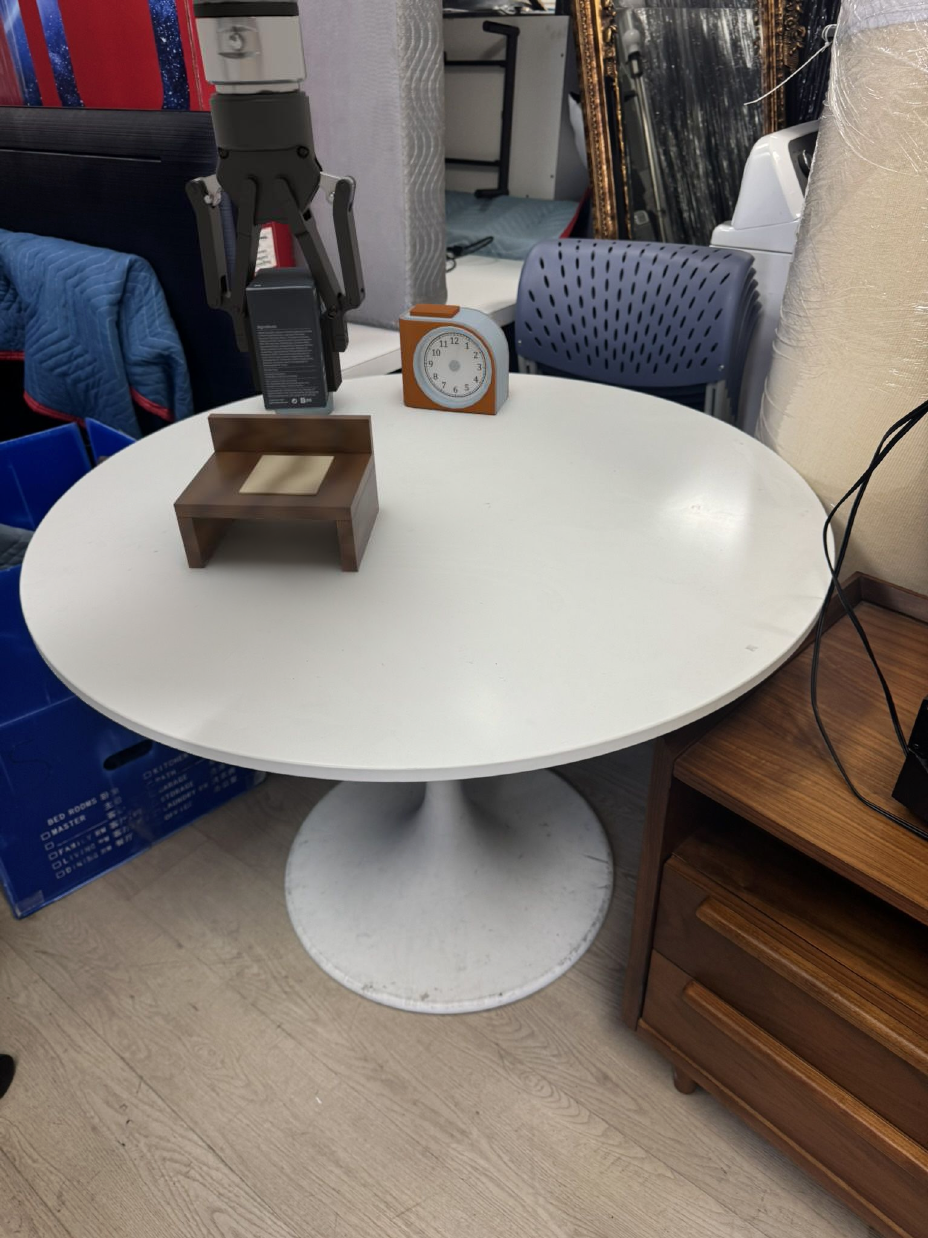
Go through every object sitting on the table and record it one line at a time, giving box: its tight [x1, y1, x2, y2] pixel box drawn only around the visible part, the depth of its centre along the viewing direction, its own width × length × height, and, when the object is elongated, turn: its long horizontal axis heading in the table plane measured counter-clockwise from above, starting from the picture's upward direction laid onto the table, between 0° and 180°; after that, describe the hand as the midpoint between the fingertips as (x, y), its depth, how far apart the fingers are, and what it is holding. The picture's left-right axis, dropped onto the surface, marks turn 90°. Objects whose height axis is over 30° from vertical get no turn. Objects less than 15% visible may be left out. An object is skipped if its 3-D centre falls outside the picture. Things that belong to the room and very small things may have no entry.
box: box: [246, 266, 330, 412], centre depth 73 cm, size 8×6×11 cm
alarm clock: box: [398, 303, 510, 416], centre depth 120 cm, size 15×8×14 cm, turn 74°
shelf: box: [173, 413, 380, 573], centre depth 88 cm, size 18×14×12 cm
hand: (299, 385), depth 75 cm, fingers closed on box, 6 cm apart
